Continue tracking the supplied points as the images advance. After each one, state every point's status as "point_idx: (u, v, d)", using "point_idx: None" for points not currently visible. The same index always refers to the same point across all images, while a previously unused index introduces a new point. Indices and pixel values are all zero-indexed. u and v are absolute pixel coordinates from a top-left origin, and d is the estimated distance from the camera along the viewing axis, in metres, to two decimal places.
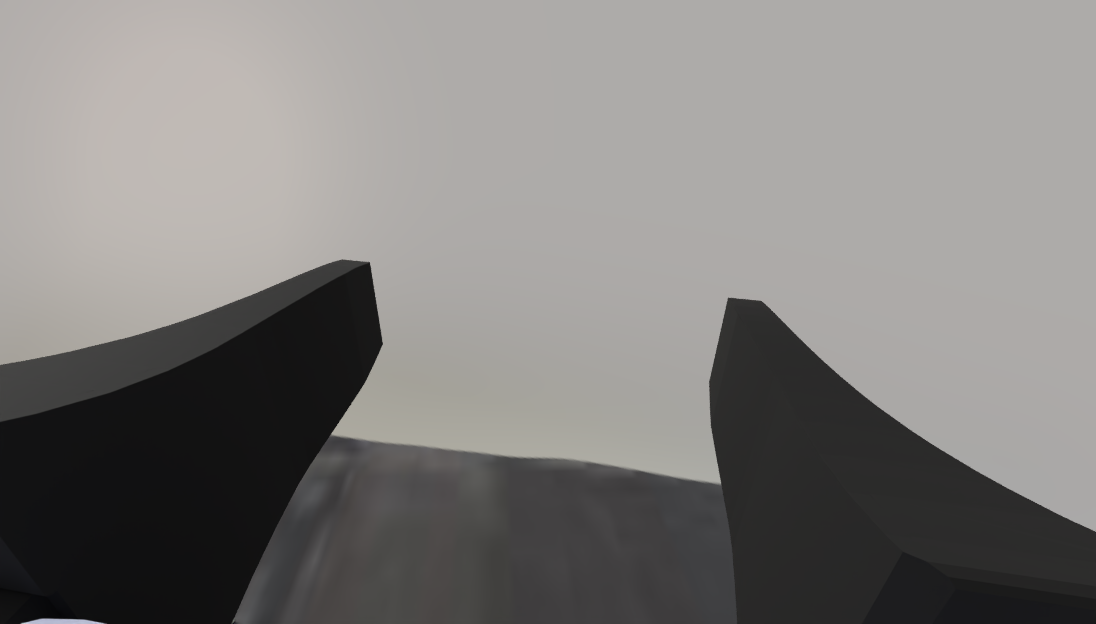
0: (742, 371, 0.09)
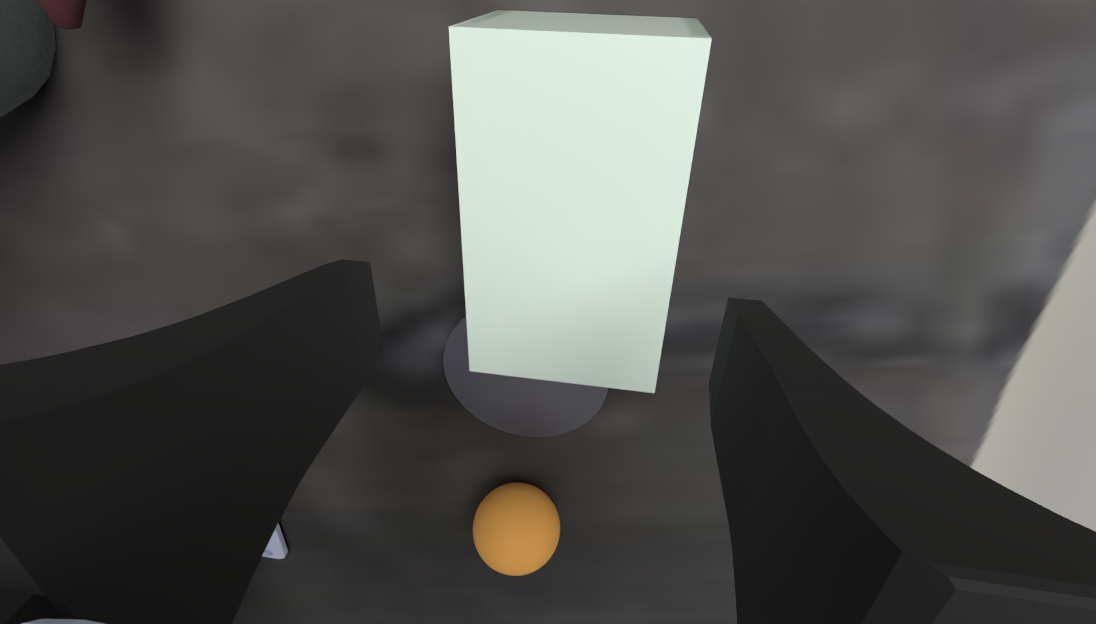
0: (742, 371, 0.09)
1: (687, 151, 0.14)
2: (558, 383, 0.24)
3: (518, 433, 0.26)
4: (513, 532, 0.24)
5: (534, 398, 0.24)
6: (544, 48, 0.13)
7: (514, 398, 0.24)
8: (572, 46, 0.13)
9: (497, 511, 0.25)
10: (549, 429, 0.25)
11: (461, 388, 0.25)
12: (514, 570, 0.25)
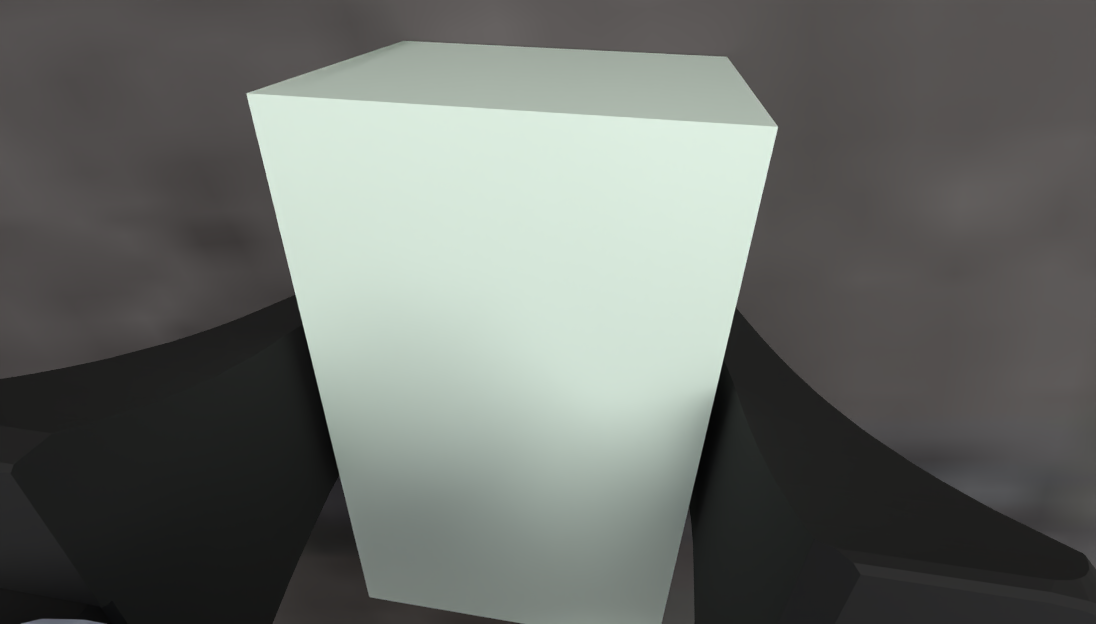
0: None
1: (719, 325, 0.07)
2: None
3: None
4: None
5: None
6: (436, 138, 0.06)
7: None
8: (490, 135, 0.06)
9: None
10: None
11: None
12: None
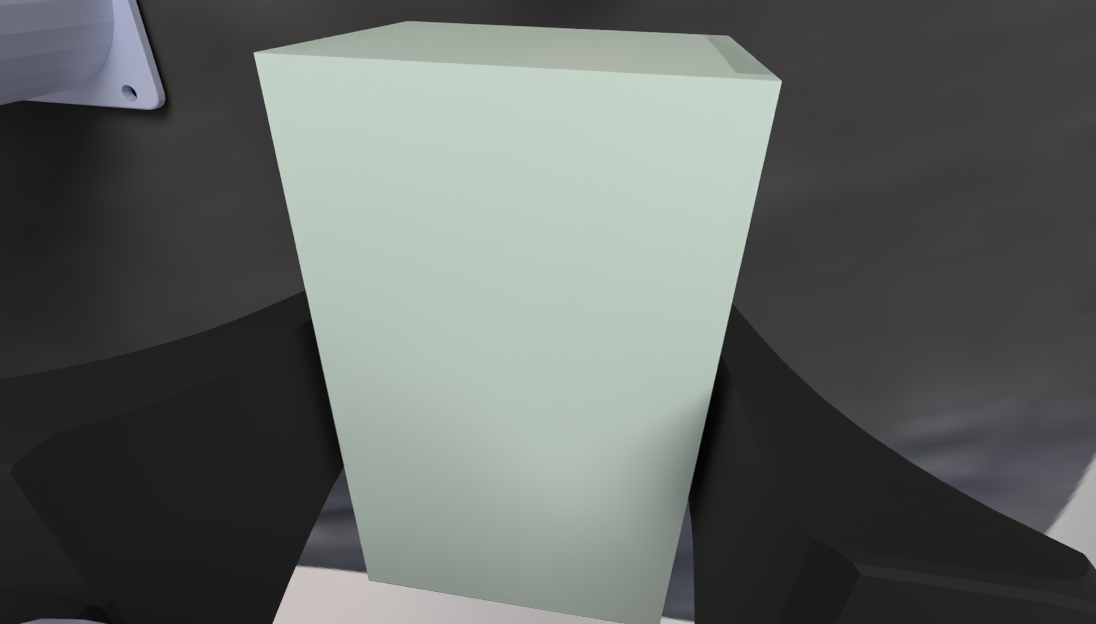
0: None
1: (723, 288, 0.07)
2: None
3: None
4: None
5: None
6: (441, 96, 0.06)
7: None
8: (496, 93, 0.06)
9: None
10: None
11: None
12: None
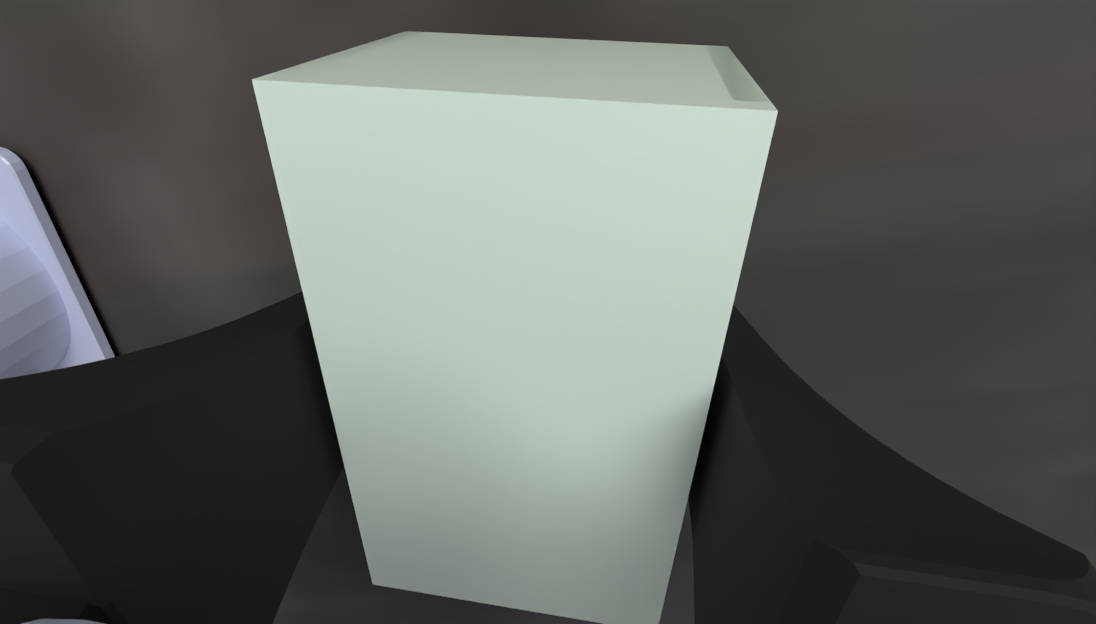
0: None
1: (719, 310, 0.07)
2: None
3: None
4: None
5: None
6: (439, 123, 0.06)
7: None
8: (493, 121, 0.06)
9: None
10: None
11: None
12: None
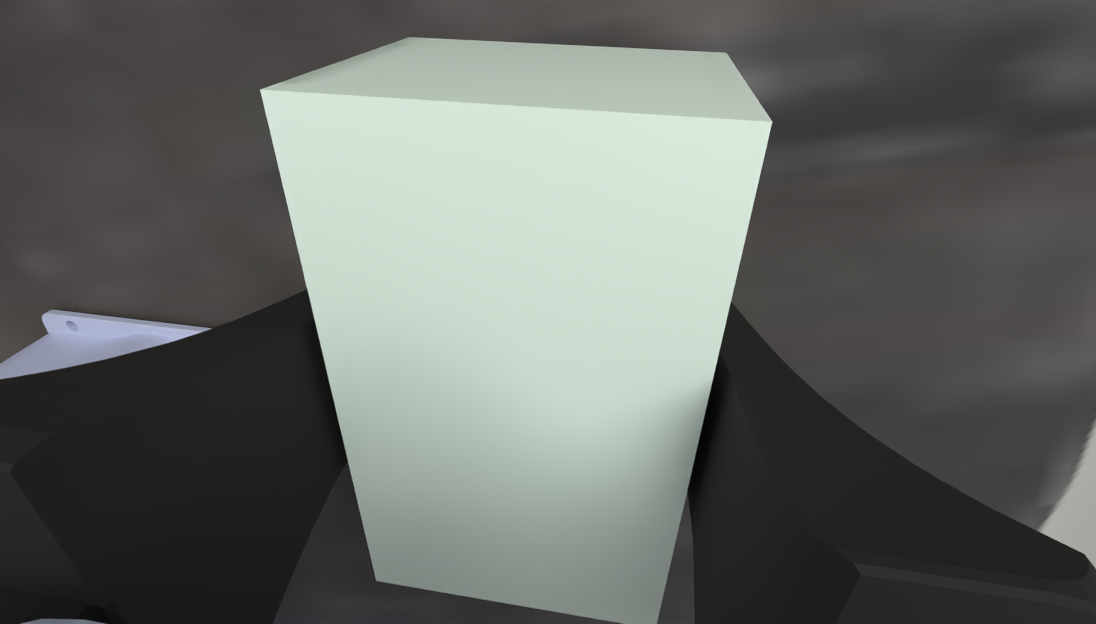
0: None
1: (716, 314, 0.07)
2: None
3: None
4: None
5: None
6: (443, 132, 0.07)
7: None
8: (495, 130, 0.06)
9: None
10: None
11: None
12: None
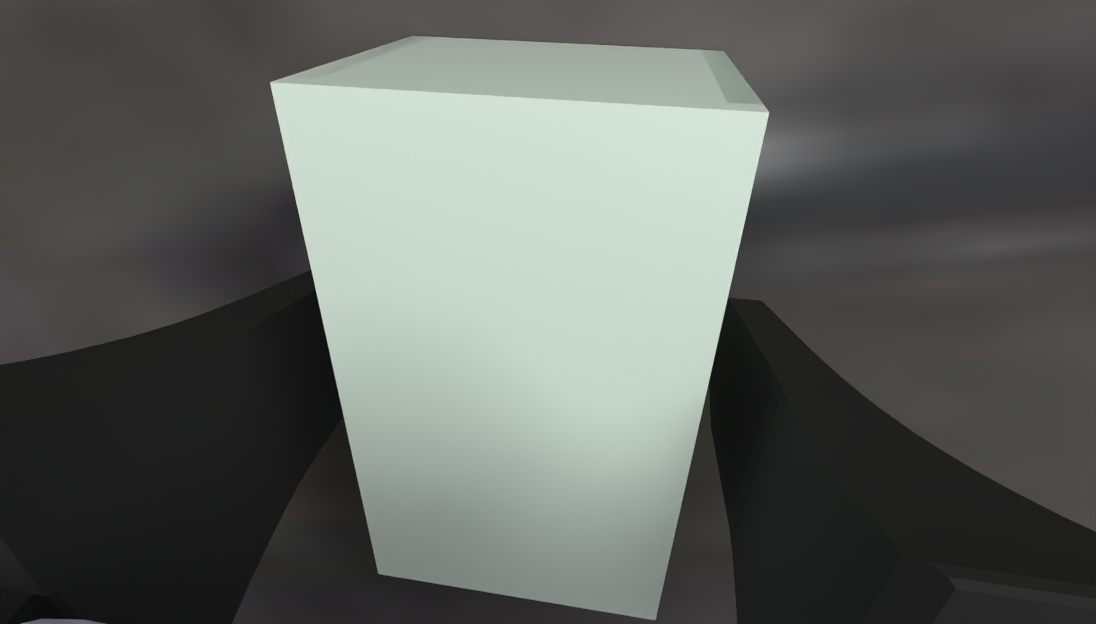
0: (742, 371, 0.09)
1: (715, 302, 0.07)
2: None
3: None
4: None
5: None
6: (448, 124, 0.07)
7: None
8: (500, 121, 0.07)
9: None
10: None
11: None
12: None
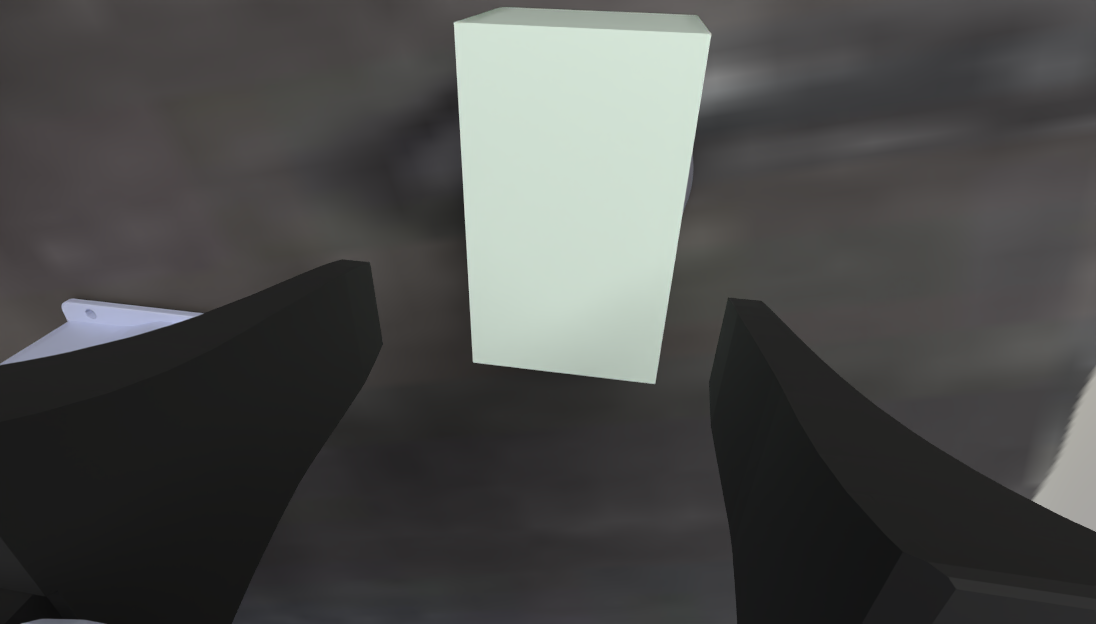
0: (742, 372, 0.09)
1: (687, 144, 0.14)
2: None
3: None
4: None
5: None
6: (547, 43, 0.13)
7: None
8: (575, 41, 0.13)
9: None
10: None
11: None
12: None
